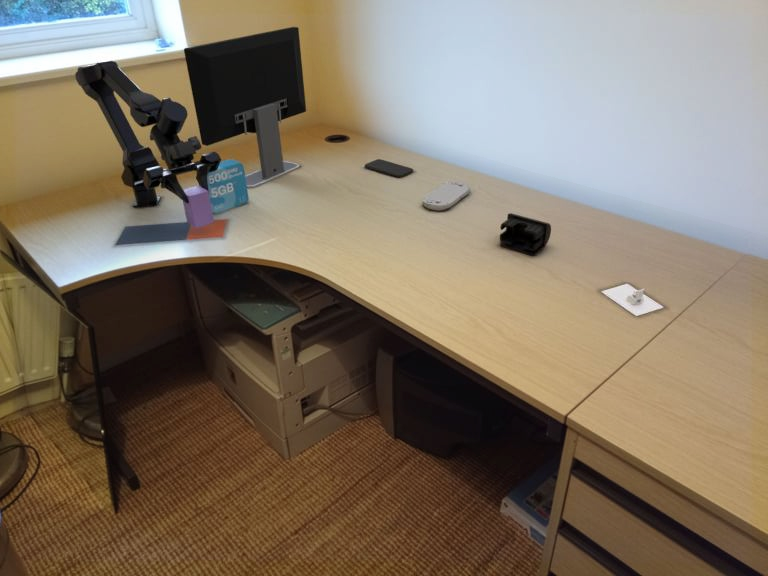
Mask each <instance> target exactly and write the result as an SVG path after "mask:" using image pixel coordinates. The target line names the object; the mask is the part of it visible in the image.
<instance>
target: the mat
mask: <svg viewBox="0 0 768 576" xmlns="http://www.w3.org/2000/svg"><path fill="white" fill-rule="evenodd" d="M227 220H228V219H227V218H225V219H214V223H211V224H208V225H205V226H202V227H198V228H195V227H193V226H192V225H191V224H189V223H188V222H187V221H186V222H185V221H183V222H172V223H171V222H170V223H156V224H155V223H154V224H143V225H129V226H125V227H124V229H123V230H122V232H121V234H120V235H119V238H118V239H117V240H116V242H115V244H114V246H124V245H135V244H149V243H150V244H151V243H164V242H177V241H190V240H191V241H192V240H203V239H204V240H205V239H217V238H223V237H224V233H225V229H226V225H227V222H228V221H227Z"/></svg>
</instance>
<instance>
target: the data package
mask: <svg viewBox="0 0 768 576" xmlns="http://www.w3.org/2000/svg"><path fill="white" fill-rule="evenodd" d="M245 176H246V171H245V166H244V164H243V163H242V162H241V161H237V160H235V159H232V158H229V159H226V160H225V159H224V160H221V162H220V164H219V167H218V169H217V170H216V171H214V172H210V173H208V175H207V183H208V190H209V198H210V203H211V208H212V213H213V214H219V213H221V212H224V211H226V210H230V209H233V208H236V207H240V206H242V205H244V204H246V203H247V202H248V201H249V192H248V187H247V184H246V178H245ZM197 184H198V186H200V185H199V183H198V182H197Z"/></svg>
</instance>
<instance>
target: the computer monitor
mask: <svg viewBox="0 0 768 576" xmlns="http://www.w3.org/2000/svg"><path fill="white" fill-rule="evenodd" d="M300 40H301V39H300V30H299V27H298V26H290V27H285V28H279V29H276V30H271V31H270V30H269V31H264V32H259V33H255V34H250V35H246V36H244V35H243V36H240V37H239V36H238V37H235V38H228V39H225V40H224V39H223V40H219V41H213V42H209V43H205V44H199V45H193V46H189V47H185V48H184V49H183V52H184V58H185V63H186V68H187V74H188V78H189V79H188V80H189V83H190V84H189V85H190V90H191V95H192V99H193V106H194V110H195V115H196V120H197V125H198V130H199V136H200V143H201V146H206V147H209V146H211V145H214V144H217V143H220V142H223V141H226V140H228V139H231V138H235V137H237V136H240V135H243V134H244V136H247V135H248V133H249V134H256V141H257V147H258V155H259V156H258V157H259V163H260V169H259V170H255V171H253V172H251V173H249V174H245V178H246V184H247V188H255V187H258V186H260V185H262V184H265V183H266V182H269V181H272V180H274V179H276V178H279V177H280V176H282V175H285V174H287V173H290V172H292V171H294V170H296V169H299V167H300V164H299V163H296V162H292V161H287V160H284V158H283V150H282V142H281V134H280V126H279V124H282V121H283V120H286V119H289V118H292V117H295V116H297V115H300V114H304V113H306V112H307V105H306V94H305V84H304V73H303V72H304V71H303V61H302V52H301V51H302V50H301V41H300Z"/></svg>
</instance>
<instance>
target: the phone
mask: <svg viewBox="0 0 768 576" xmlns="http://www.w3.org/2000/svg"><path fill="white" fill-rule="evenodd" d="M364 168H366V169H369V170H373V171H376V172H379V173H381V174H385V175H389V176H391V177H395V178H402V177H405V176H407V175H410V174H412V173H413V172H414V168H412V167H408V166H405V165H403V164H402V165H401V164H398V163H395V162H391V161H388V160H384V159H380V158H378V159H375V160H374V159H373V160H371V161H370V162H367V163H365V164H364Z"/></svg>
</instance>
